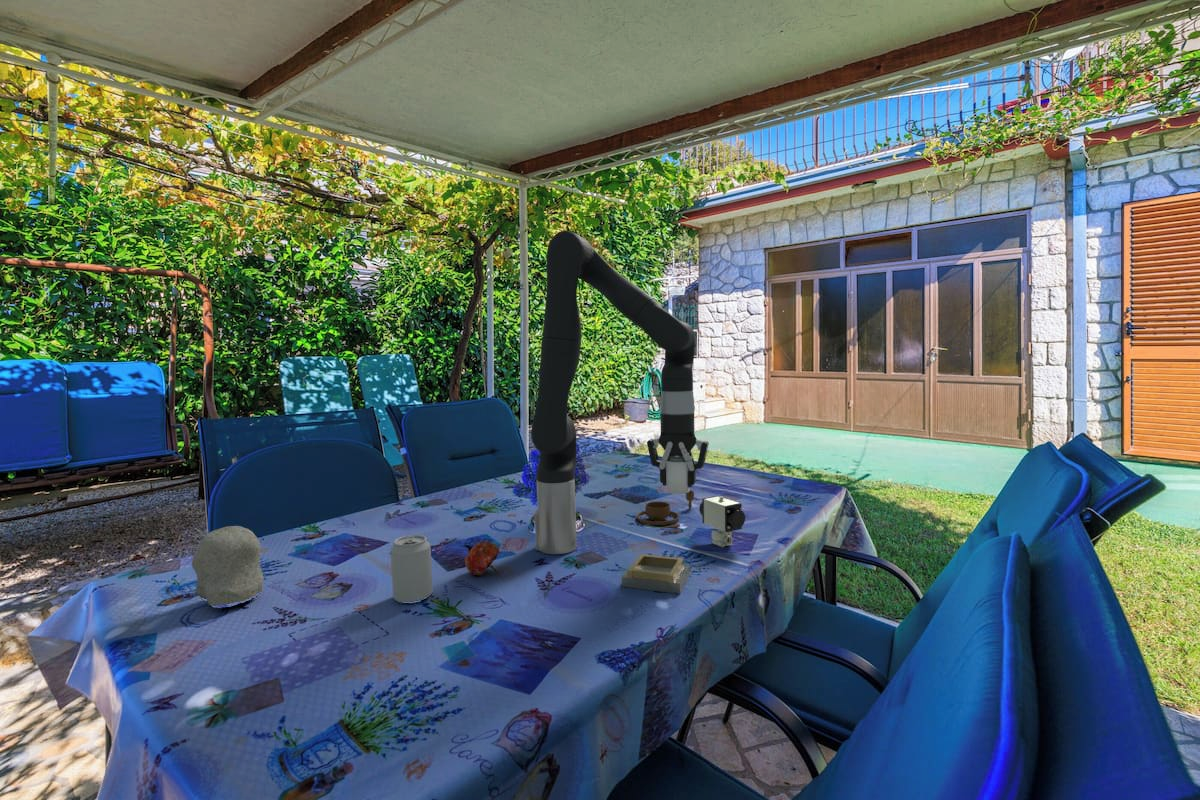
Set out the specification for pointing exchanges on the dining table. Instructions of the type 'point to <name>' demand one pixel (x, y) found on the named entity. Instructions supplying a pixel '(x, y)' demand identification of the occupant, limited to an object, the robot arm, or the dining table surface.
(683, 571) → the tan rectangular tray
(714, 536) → the pneumatic valve
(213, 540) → the stone
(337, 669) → the dining table surface
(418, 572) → the can
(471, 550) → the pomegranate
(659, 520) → the place setting
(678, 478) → the white plastic jar
